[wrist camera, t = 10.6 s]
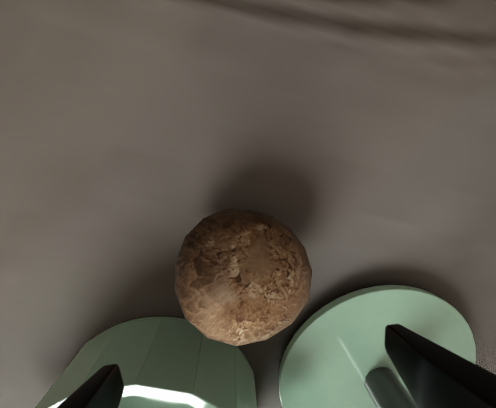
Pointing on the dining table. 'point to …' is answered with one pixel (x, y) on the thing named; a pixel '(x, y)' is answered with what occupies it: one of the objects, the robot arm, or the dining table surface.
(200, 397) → the pot
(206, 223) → the mushroom
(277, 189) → the dining table surface
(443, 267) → the dining table surface
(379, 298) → the lid
